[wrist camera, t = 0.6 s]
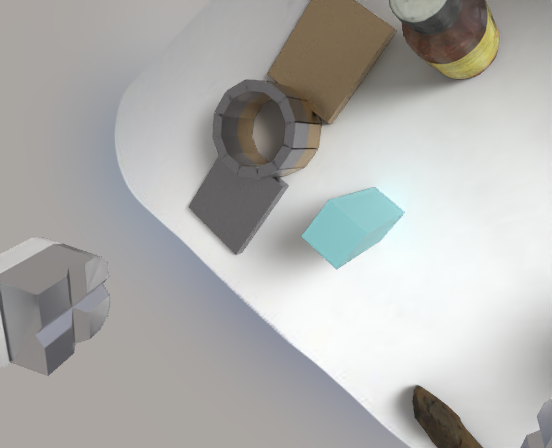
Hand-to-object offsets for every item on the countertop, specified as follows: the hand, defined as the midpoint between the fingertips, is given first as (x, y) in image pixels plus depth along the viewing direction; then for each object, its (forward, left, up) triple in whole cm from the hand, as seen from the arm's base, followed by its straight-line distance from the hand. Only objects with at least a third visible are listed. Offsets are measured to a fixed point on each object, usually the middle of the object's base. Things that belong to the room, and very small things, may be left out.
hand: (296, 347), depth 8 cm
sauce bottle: (-9, -10, -44) cm, 47 cm away
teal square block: (+10, -6, -44) cm, 46 cm away
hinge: (+10, -22, -44) cm, 51 cm away
